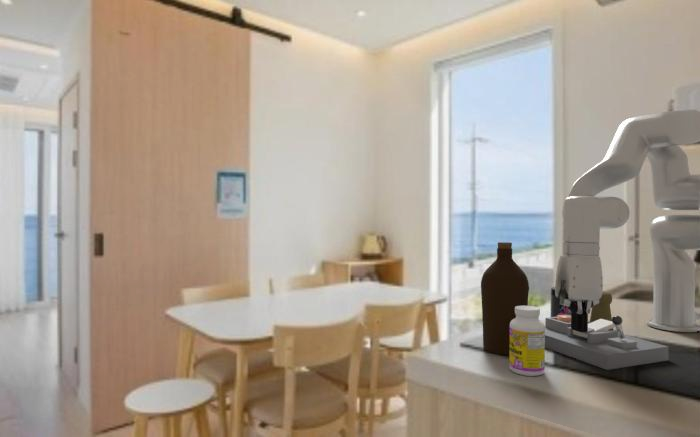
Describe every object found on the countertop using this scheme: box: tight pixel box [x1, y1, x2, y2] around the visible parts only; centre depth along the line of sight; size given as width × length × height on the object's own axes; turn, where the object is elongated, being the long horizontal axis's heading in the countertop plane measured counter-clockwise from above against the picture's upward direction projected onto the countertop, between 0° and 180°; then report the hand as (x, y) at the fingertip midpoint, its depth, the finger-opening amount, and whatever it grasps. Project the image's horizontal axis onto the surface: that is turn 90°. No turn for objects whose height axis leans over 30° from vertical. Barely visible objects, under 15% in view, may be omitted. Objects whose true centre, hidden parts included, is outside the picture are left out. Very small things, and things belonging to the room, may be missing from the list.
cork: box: [589, 290, 614, 331], centre depth 124 cm, size 6×6×11 cm
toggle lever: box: [612, 315, 625, 339], centre depth 101 cm, size 2×2×5 cm
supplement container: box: [550, 286, 576, 317], centre depth 133 cm, size 7×7×10 cm
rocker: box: [573, 319, 616, 338], centre depth 107 cm, size 9×4×1 cm, turn 111°
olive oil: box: [480, 241, 530, 356], centre depth 108 cm, size 11×11×25 cm
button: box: [557, 315, 571, 323], centre depth 115 cm, size 4×4×3 cm
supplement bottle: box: [508, 305, 546, 377], centre depth 93 cm, size 7×7×13 cm
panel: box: [544, 316, 670, 371], centre depth 108 cm, size 18×24×6 cm
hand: (579, 330), depth 106 cm, fingers closed
